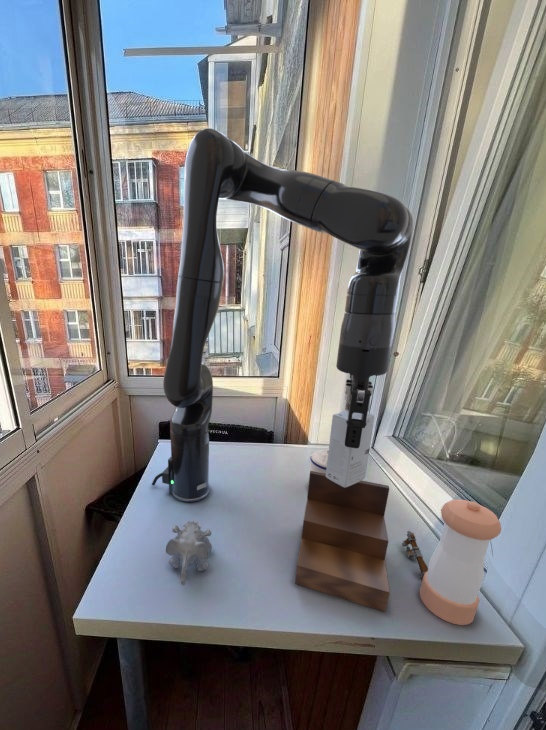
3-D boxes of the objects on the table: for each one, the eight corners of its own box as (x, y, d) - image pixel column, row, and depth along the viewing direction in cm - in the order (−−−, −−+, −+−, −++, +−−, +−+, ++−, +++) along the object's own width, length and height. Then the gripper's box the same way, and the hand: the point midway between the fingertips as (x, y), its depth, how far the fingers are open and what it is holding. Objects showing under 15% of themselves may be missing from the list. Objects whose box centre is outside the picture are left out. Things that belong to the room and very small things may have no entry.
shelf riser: (295, 583, 58) (302, 515, 54) (304, 528, 71) (310, 470, 67) (385, 612, 53) (401, 539, 49) (377, 546, 66) (388, 485, 62)
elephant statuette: (208, 541, 67) (208, 509, 65) (224, 592, 56) (225, 555, 54) (162, 548, 66) (161, 516, 63) (170, 602, 54) (168, 565, 52)
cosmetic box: (345, 489, 56) (355, 423, 52) (323, 477, 60) (331, 414, 56) (366, 478, 59) (377, 415, 56) (344, 467, 63) (352, 407, 59)
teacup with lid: (314, 502, 80) (320, 458, 76) (302, 480, 88) (306, 441, 85) (363, 500, 80) (371, 457, 77) (346, 479, 89) (352, 440, 85)
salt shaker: (431, 577, 59) (455, 483, 53) (481, 609, 53) (515, 507, 47) (411, 598, 55) (434, 499, 49) (463, 634, 49) (496, 527, 44)
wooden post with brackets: (406, 539, 66) (415, 528, 63) (424, 583, 60) (435, 573, 57) (396, 539, 67) (405, 528, 64) (414, 583, 61) (424, 573, 58)
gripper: (339, 334, 60) (329, 419, 65) (338, 347, 47) (326, 451, 52) (386, 337, 57) (372, 425, 62) (398, 351, 45) (379, 460, 49)
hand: (351, 437), depth 57 cm, fingers closed on cosmetic box, 7 cm apart
